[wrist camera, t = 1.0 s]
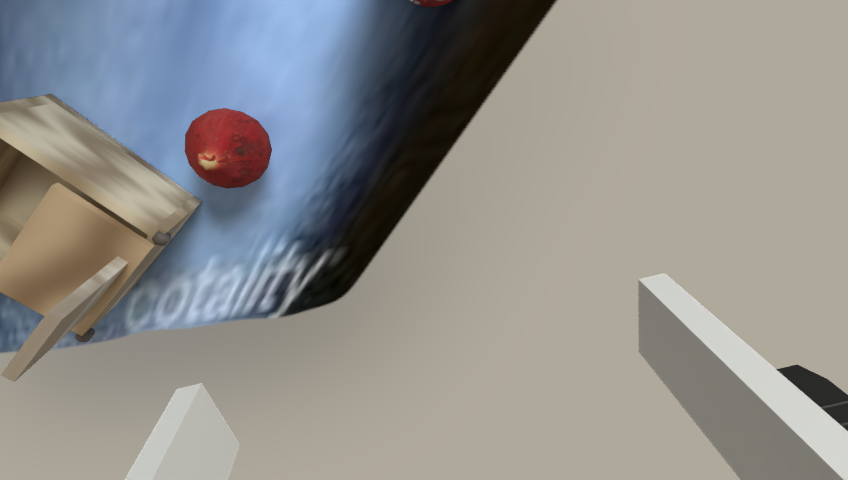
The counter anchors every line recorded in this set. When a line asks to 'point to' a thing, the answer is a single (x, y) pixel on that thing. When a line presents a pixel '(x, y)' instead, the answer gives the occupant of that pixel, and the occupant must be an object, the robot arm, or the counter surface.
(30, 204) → the wooden box
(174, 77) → the counter surface
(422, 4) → the soda can
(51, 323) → the lid
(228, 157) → the onion
